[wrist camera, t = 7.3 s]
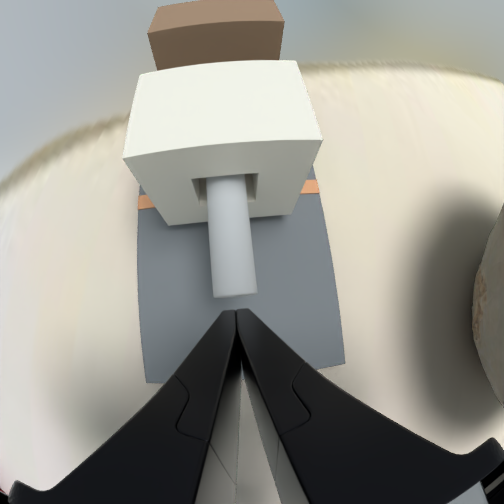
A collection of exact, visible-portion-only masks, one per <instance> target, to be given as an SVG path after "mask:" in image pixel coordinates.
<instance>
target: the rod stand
mask: <svg viewBox="0 0 504 504" xmlns="http://www.w3.org/2000/svg"><path fill="white" fill-rule="evenodd" d="M283 28H284V19H283V17H282V16H281V14H280V12H279V10H278V8H277V6H276V4H275V2H274V0H200V1H192V2H185V3H179V4H173V5H167V6H162V7H158V9H157V11H156V14H155V16H154V18H153V21H152V23H151V25H150V28H149V30H148V33H147V34H148V37H149V41H150V45H151V49H152V52H153V56H154V60H155V63H156V67H157V71H159V70H165V69H170V68H176V67H183V66H190V65H198V64H206V63H216V62H229V61H249V60H279V57H280V50H281V43H282V35H283ZM206 189H207V210H208V222H199V223H189V224H180V225H171V226H168V224H167V223H166V222H165V220H164V219H163V217H162V216H161V214H160V213H159V212H158V210H157V209H156V207H155V206H154V204H153V203H152V202H151V200H150V199H149V197H148V196H147V194H146V193H145V191H144V190H143V188H142V187H141V186H140V191H139V197H138V236H137V275H138V302H139V319H140V332H141V343H142V352H143V361H144V369H145V377H146V383H165V382H166V381H167V380H168V379H169V377H170V376H171V375H172V374H173V373H174V372H175V370H176V369H177V368H178V367H179V365H180V364H181V363H182V362H183V360H184V359H185V358H186V357H187V355H188V354H189V353H190V352H191V350H192V349H193V348H194V346H195V345H196V344H197V343H198V341H199V340H200V339H201V338H202V336H203V335H204V334H205V333H206V331H207V330H208V329H209V327H210V326H211V325H212V324H213V322H214V321H215V320H216V318H217V317H218V316H219V315H220V313H221V312H222V311H223V310H231V309H234V310H235V311H236V310H237V309H241V308H249V309H250V310H251V311H252V312H253V313H254V314H255V315H256V316H257V317H258V318H260V319H261V320H262V321H263V322H264V323H265V324H266V325H267V326H268V327H269V328H270V329H271V330H272V331H273V332H274V333H275V334H277V335H278V336H279V337H280V338H281V339H282V340H283V341H284V342H285V343H286V344H287V345H288V346H290V347H291V348H292V349H293V350H294V351H295V352H296V353H297V354H298V355H299V356H301V357H302V358H303V359H304V360H305V361H306V362H308V363H309V364H310V365H311V366H312V367H313V368H315V369H321V368H326V367H331V366H336V365H341V364H345V357H344V346H343V337H342V328H341V319H340V311H339V303H338V296H337V289H336V282H335V275H334V269H333V263H332V257H331V251H330V245H329V240H328V234H327V229H326V224H325V219H324V214H323V209H322V204H321V199H320V195H319V193H320V192H319V188H318V183H317V180H316V177H315V173H314V169H313V165H312V167H311V170H310V172H309V174H308V177H307V179H306V181H305V184H304V186H303V188H302V190H301V193H300V195H299V197H298V200H297V202H296V204H295V207H294V209H293V211H292V213H291V214H290V215H276V216H264V217H252V218H249V211H248V202H247V192H246V183H245V174H236V175H225V176H214V177H206ZM241 364H242V363H241ZM243 379H245V378H244V374H243V370H242V380H243Z"/></svg>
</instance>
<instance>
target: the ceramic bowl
mask: <svg viewBox="0 0 504 504" xmlns="http://www.w3.org/2000/svg"><path fill="white" fill-rule="evenodd" d="M471 308H472V317H473V320H472V330H473V336H474V342H475V345H476V348H477V351H478V354H479V357H480V361H481V364H482V367H483V369H484V371H485V373H486V376H487V378H488V380H489V382H490V384H491V386H492V389H493V391H494V393H495V395H496V397H497V398H498V400H499V401H500V403H501V405H502V406H503V408H504V204H503V207H502V209H501V212H500V214H499V217H498V219H497V221H496V224H495V226H494V228H493V229H492V231H491V232H490V234H489V238H488V241H487V244H486V247H485V251H484V254H483V257H482V260H481V263H480V265H479V268H478V271H477V274H476V278H475V283H474V292H473V306H472V307H471Z"/></svg>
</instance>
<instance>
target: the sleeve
mask: <svg viewBox="0 0 504 504" xmlns="http://www.w3.org/2000/svg"><path fill="white" fill-rule="evenodd" d="M322 141H323V138H322V135H321V131H320V128H319V125H318V122H317V119H316V116H315V113H314V110H313V107H312V104H311V101H310V98H309V95H308V92H307V90H306V87H305V84H304V81H303V79H302V76H301V73H300V71H299V68H298V66H297V63H296V61H288V60H249V61H229V62H216V63H206V64H198V65H190V66H183V67H176V68H170V69H165V70H159V71H154V72H150V73H145V74H141V75H140V77H139V81H138V84H137V89H136V92H135V96H134V100H133V105H132V109H131V114H130V119H129V123H128V129H127V134H126V139H125V145H124V151H123V160H124V161H125V163H126V165H127V166H128V168H129V169H130V171H131V172H132V174H133V175H134V177H135V178H136V180H137V181H138V183H139V184H140V186H141V187H142V188H143V190H144V191H145V193H146V194H147V196H148V197H149V199H150V200H151V202H152V203H153V204H154V206H155V207H156V209H157V210H158V212H159V213H160V214H161V216H162V217H163V219H164V220H165V222H166V223H167V224H168V226H171V225H180V224H189V223H199V222H208V210H207V189H206V177H214V176H225V175H236V174H245V183H246V192H247V202H248V211H249V218H252V217H264V216H276V215H290V214H291V213H292V211H293V209H294V207H295V204H296V202H297V200H298V197H299V195H300V193H301V190H302V188H303V186H304V184H305V181H306V179H307V177H308V174H309V172H310V170H311V167H312V165H313V162H314V160H315V158H316V155H317V153H318V151H319V148H320V146H321V144H322Z"/></svg>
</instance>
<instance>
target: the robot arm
mask: <svg viewBox="0 0 504 504" xmlns="http://www.w3.org/2000/svg"><path fill="white" fill-rule="evenodd" d="M241 363H242V364H241ZM242 370H243V374H244V378H245V382H246V386H247V389H248V393H249V397H250V400H251V404H252V408H253V411H254V415H255V418H256V422H257V425H258V429H259V432H260V435H261V439H262V442H263V446H264V449H265V452H266V455H267V459H268V462H269V465H270V468H271V472H272V475H273V478H274V481H275V484H276V487H277V491H278V494H279V497H280V501H281V504H504V450H503V448H502V447H501V445H500V444H499V443H498V442H497V440H496V439H495V438H490V439H488V440H487V441H485V442H484V443H483V444H481V445H480V446H479V447H477V448H476V449H475V450H473V451H472V452H470V453H468V454H463V455H460V454H454V453H451V452H449V451H447V450H445V449H443V448H441V447H440V446H438V445H436V444H434V443H432V442H430V441H428V440H426V439H424V438H423V437H421V436H419V435H417V434H415V433H414V432H412V431H410V430H408V429H406V428H405V427H403V426H401V425H399V424H398V423H396V422H394V421H393V420H391V419H389V418H387V417H386V416H384V415H382V414H381V413H379V412H377V411H376V410H374V409H373V408H371V407H369V406H368V405H366V404H364V403H363V402H361V401H360V400H358V399H356V398H355V397H353V396H352V395H350V394H349V393H347V392H345V391H344V390H342V389H341V388H339V387H338V386H337V385H335V384H334V383H332V382H331V381H329V380H328V379H327V378H325V377H324V376H323V375H322V374H321V373H319V372H318V371H317V370H316V369H315V368H313V367H312V366H311V365H310V364H309V363H308V362H306V361H305V360H304V359H303V358H302V357H301V356H299V355H298V354H297V353H296V352H295V351H294V350H293V349H292V348H291V347H290V346H288V345H287V344H286V343H285V342H284V341H283V340H282V339H281V338H280V337H279V336H278V335H277V334H275V333H274V332H273V331H272V330H271V329H270V328H269V327H268V326H267V325H266V324H265V323H264V322H263V321H262V320H261V319H260V318H258V317H257V316H256V315H255V314H254V313H253V312H252V311H251V310H250V309H249V308H241V309H237V310H236V311H235V310H234V309H231V310H223V311H222V312H221V313H220V315H219V316H218V317H217V318H216V320H215V321H214V322H213V324H212V325H211V326H210V327H209V329H208V330H207V331H206V333H205V334H204V335H203V336H202V338H201V339H200V340H199V341H198V343H197V344H196V345H195V346H194V348H193V349H192V350H191V352H190V353H189V354H188V355H187V357H186V358H185V359H184V360H183V362H182V363H181V364H180V365H179V367H178V368H177V369H176V370H175V372H174V373H173V374H172V375H171V376H170V377H169V379H168V380H167V381H166V382H165V384H164V385H163V386H162V387H161V388H160V389H159V391H158V392H157V393H156V394H155V395H154V396H153V397H152V398H151V399H150V400H149V401H148V402H147V403H146V404H145V405H144V406H143V407H142V408H141V409H140V410H139V411H138V412H137V413H136V414H135V415H134V416H133V417H132V418H131V419H130V420H129V421H127V422H126V423H125V424H124V425H123V426H122V427H121V428H120V429H119V430H118V431H117V432H116V433H115V434H113V435H112V436H111V437H110V438H109V439H108V440H107V441H106V442H105V443H104V444H102V445H101V446H100V447H99V448H98V449H97V450H96V451H95V452H94V453H92V454H91V455H90V456H89V457H88V458H87V459H86V460H85V461H83V462H82V463H81V464H80V465H79V466H78V467H77V468H75V469H74V470H73V471H72V472H71V473H70V474H69V475H67V476H66V477H65V478H64V479H63V480H62V481H60V482H59V483H58V484H57V485H56V486H54V487H53V488H51V489H50V490H46V491H39V490H36V489H34V488H32V487H30V486H28V485H26V484H24V483H22V482H20V481H18V480H16V481H14V483H13V485H12V488H11V490H10V493H9V495H8V494H6V493H4V492H2V491H0V504H236V480H237V459H238V439H239V419H240V400H241V381H242Z"/></svg>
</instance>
